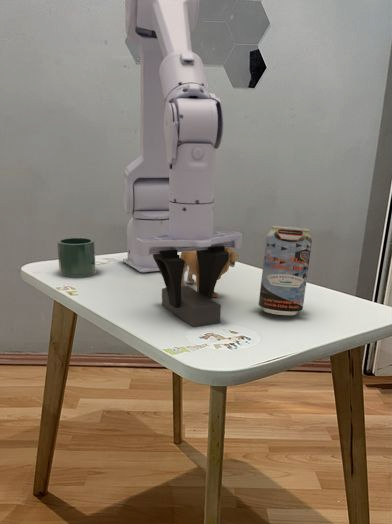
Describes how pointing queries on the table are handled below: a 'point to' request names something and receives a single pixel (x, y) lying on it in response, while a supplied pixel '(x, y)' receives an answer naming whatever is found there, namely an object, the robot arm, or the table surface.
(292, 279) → the beverage can
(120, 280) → the table surface
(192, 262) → the lion figurine
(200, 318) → the black bar
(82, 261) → the cup
